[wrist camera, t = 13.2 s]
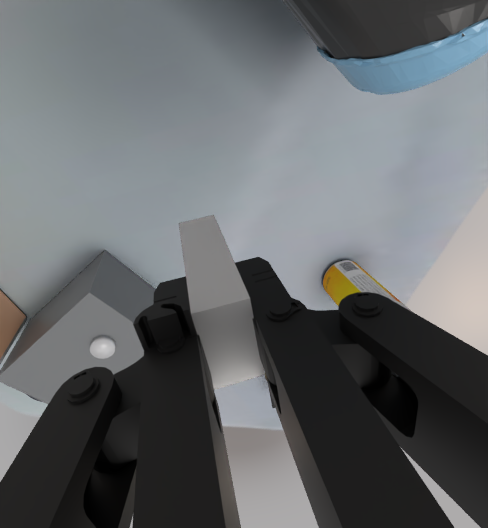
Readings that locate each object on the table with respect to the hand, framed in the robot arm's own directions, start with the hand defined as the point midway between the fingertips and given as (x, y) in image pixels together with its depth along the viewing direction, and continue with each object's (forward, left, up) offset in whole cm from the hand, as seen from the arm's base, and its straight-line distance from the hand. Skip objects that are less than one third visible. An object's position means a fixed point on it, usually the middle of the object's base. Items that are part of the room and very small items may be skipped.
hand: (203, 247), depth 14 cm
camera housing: (+17, -15, -26) cm, 35 cm away
